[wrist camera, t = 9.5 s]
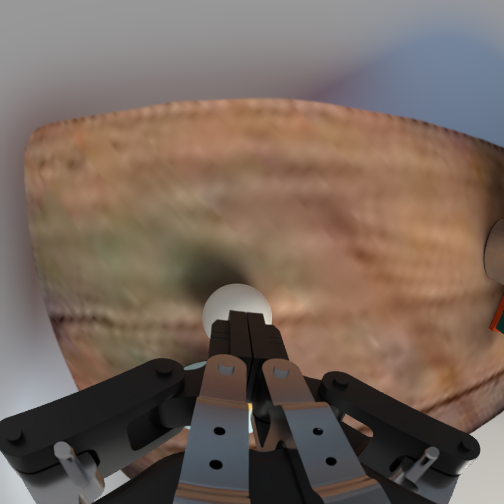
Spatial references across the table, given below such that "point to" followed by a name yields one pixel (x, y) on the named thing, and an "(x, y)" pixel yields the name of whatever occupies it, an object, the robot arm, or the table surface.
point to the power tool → (498, 319)
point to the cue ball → (234, 304)
